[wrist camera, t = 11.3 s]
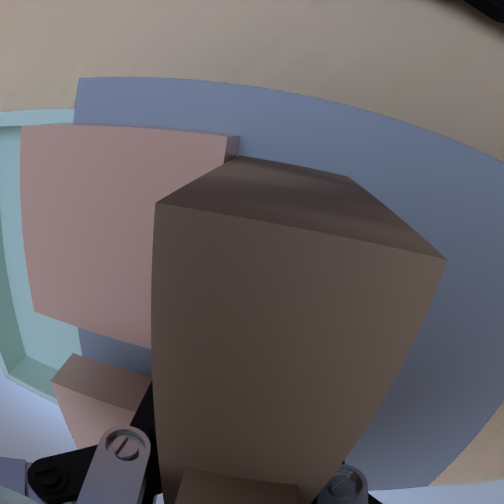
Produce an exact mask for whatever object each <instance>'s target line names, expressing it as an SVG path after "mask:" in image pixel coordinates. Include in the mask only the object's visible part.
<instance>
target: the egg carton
mask: <svg viewBox="0 0 504 504" xmlns="http://www.w3.org/2000/svg"><path fill="white" fill-rule="evenodd" d="M464 1H465V2H467V3H468V4H470V5H471V6H473V7H474V8H476V9H477V10H479V11H481V12H482V13H484V14H485V15H487V16H488V17H490V18H491V19H493V20H495V21H497V22H501V23H504V0H464Z"/></svg>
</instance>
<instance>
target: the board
mask: <svg viewBox="0 0 504 504" xmlns="http://www.w3.org/2000/svg"><path fill="white" fill-rule="evenodd" d="M73 123H107V124H130V125H147V126H160V127H172V128H183V129H193V130H202V131H210V132H219V133H226V134H234V135H240V141H239V147H238V154H237V157H238V156H239V155H241V156H248V157H254V158H260V159H265V160H271V161H276V162H282V163H287V164H292V165H298V166H303V167H307V168H312V169H317V170H322V171H326V172H331V173H336V174H340V175H344V176H348V177H350V178H351V179H352V180H354V181H355V182H356V183H357V184H359V185H360V186H361V187H363V188H364V189H365V190H367V191H368V192H369V193H370V194H372V195H373V196H374V197H375V198H377V199H378V200H379V201H380V202H382V203H383V204H384V205H385V206H387V207H388V208H389V209H390V210H391V211H393V212H394V213H395V214H396V215H398V216H399V217H400V218H401V219H402V220H403V221H405V222H406V223H407V224H408V225H409V226H410V227H412V228H413V229H414V230H415V231H416V232H417V233H419V234H420V235H421V236H422V237H423V238H424V239H425V240H426V241H428V242H429V243H430V244H431V245H432V246H433V247H434V248H435V249H436V250H438V251H439V252H440V253H441V254H442V255H443V256H444V257H445V258H446V259H447V263H446V266H445V268H444V271H443V274H442V277H441V279H440V282H439V284H438V287H437V290H436V292H435V295H434V297H433V299H432V302H431V304H430V307H429V309H428V311H427V314H426V316H425V318H424V320H423V323H422V325H421V327H420V329H419V332H418V334H417V336H416V338H415V340H414V342H413V344H412V346H411V348H410V350H409V352H408V354H407V356H406V358H405V360H404V362H403V364H402V366H401V368H400V370H399V372H398V374H397V376H396V377H395V379H394V381H393V383H392V385H391V387H390V388H389V390H388V392H387V394H386V395H385V397H384V399H383V401H382V402H381V404H380V406H379V407H378V409H377V411H376V412H375V414H374V416H373V417H372V419H371V421H370V422H369V424H368V425H367V427H366V428H365V430H364V432H363V433H362V435H361V436H360V438H359V439H358V441H357V442H356V444H355V445H354V447H353V448H352V450H351V451H350V452H349V454H348V455H347V457H346V458H345V464H347V465H351V466H353V467H355V468H357V469H359V470H360V471H361V472H362V473H363V474H364V476H365V477H366V479H367V483H368V491H371V490H391V489H404V488H415V487H424V486H428V485H429V484H430V483H431V482H432V481H434V480H435V479H436V478H437V477H438V476H439V475H440V474H441V473H442V472H443V471H444V470H445V469H446V468H447V467H448V466H449V465H450V464H451V463H452V462H453V461H454V460H455V458H456V457H457V456H458V455H459V454H460V453H461V452H462V451H463V450H464V449H465V448H466V446H467V445H468V444H469V443H470V442H471V441H472V440H473V438H474V437H475V436H476V435H477V434H478V433H479V431H480V430H481V429H482V428H483V426H484V425H485V424H486V423H487V422H488V420H489V419H490V418H491V416H492V415H493V414H494V413H495V411H496V410H497V409H498V407H499V406H500V404H501V403H502V402H503V400H504V162H502V161H500V160H498V159H496V158H494V157H491V156H489V155H487V154H485V153H483V152H480V151H478V150H476V149H474V148H471V147H469V146H467V145H464V144H462V143H459V142H457V141H454V140H452V139H449V138H447V137H444V136H442V135H439V134H436V133H434V132H431V131H428V130H426V129H423V128H420V127H417V126H414V125H411V124H408V123H405V122H402V121H399V120H396V119H393V118H390V117H386V116H383V115H380V114H376V113H373V112H369V111H366V110H362V109H359V108H355V107H351V106H347V105H343V104H339V103H335V102H331V101H327V100H322V99H318V98H313V97H309V96H304V95H299V94H294V93H289V92H283V91H278V90H272V89H266V88H259V87H253V86H246V85H238V84H230V83H222V82H212V81H202V80H190V79H175V78H153V77H97V78H79V82H78V88H77V95H76V103H75V110H74V119H73ZM78 334H79V340H80V346H81V352H82V356H83V357H86V358H89V359H92V360H95V361H98V362H101V363H105V364H108V365H111V366H114V367H117V368H121V369H124V370H128V371H131V372H135V373H138V374H142V375H145V376H149V377H152V356H151V349H149V348H145V347H141V346H138V345H134V344H131V343H127V342H124V341H120V340H117V339H114V338H110V337H107V336H104V335H101V334H97V333H94V332H91V331H88V330H85V329H82V328H79V327H78Z"/></svg>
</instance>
